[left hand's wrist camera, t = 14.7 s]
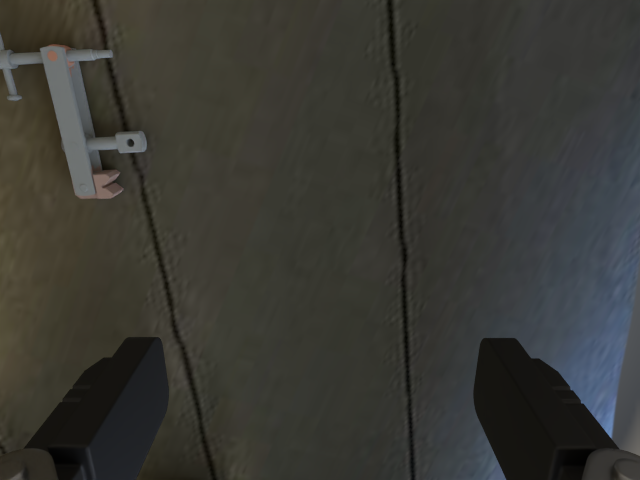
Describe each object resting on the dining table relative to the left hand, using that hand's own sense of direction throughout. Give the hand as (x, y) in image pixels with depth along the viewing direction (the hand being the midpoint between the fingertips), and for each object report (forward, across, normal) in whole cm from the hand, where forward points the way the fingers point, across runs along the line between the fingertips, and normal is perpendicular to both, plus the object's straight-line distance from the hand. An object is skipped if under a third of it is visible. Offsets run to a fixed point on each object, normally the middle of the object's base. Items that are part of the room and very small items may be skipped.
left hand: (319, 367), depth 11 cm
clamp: (+28, +19, -5) cm, 34 cm away
